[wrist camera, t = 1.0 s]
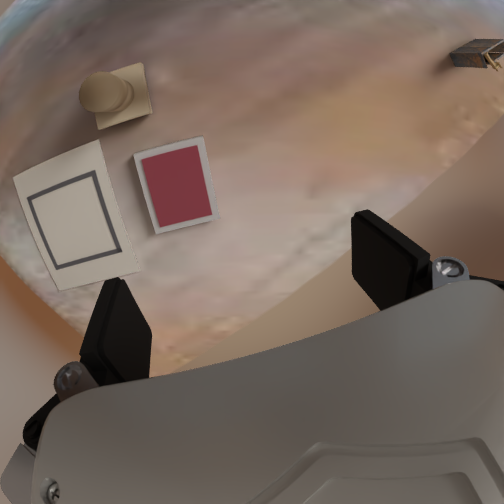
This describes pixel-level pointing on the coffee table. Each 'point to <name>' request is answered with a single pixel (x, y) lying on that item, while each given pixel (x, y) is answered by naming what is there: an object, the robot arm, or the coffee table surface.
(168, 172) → the ink pad
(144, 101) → the stamp
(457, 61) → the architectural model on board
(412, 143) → the coffee table surface
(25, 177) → the marked card
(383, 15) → the coffee table surface
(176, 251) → the coffee table surface
